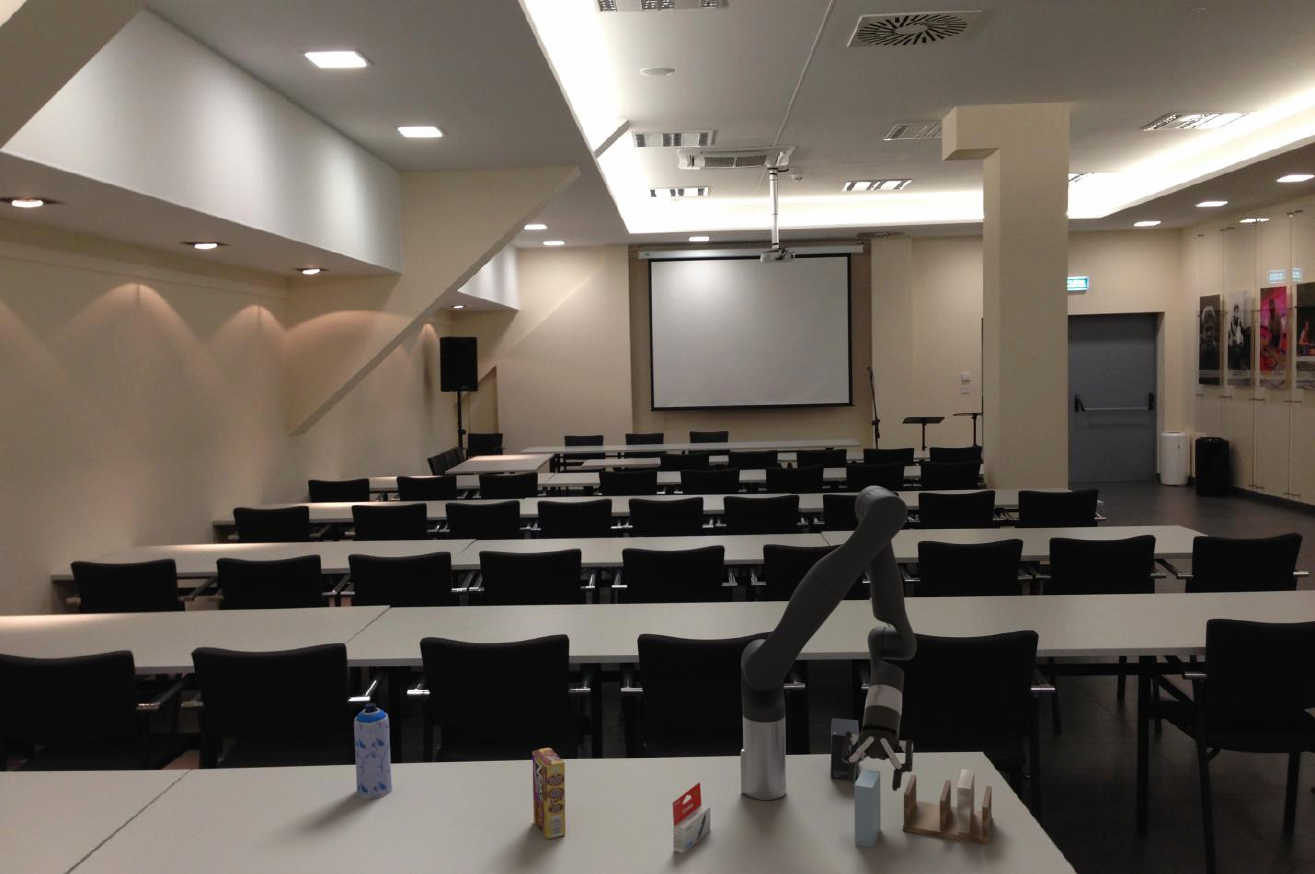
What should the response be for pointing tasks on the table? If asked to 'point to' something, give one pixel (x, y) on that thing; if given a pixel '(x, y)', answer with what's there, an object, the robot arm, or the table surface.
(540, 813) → the candy box
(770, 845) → the table surface
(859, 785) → the pale blue upright slab
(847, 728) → the small box
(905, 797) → the rack
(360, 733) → the aerosol can
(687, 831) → the ink cartridge box
